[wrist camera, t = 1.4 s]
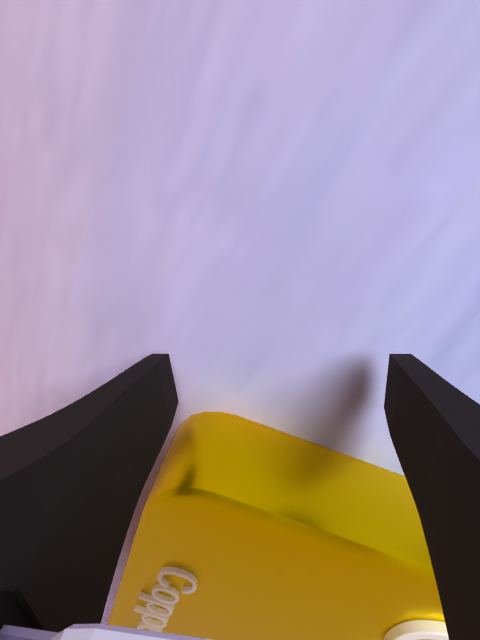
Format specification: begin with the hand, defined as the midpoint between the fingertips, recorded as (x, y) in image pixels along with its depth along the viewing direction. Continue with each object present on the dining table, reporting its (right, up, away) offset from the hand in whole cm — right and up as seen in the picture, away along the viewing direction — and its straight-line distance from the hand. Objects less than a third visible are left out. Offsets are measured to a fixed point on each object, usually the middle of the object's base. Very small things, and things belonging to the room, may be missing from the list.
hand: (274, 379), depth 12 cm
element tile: (+1, -10, +7) cm, 12 cm away
